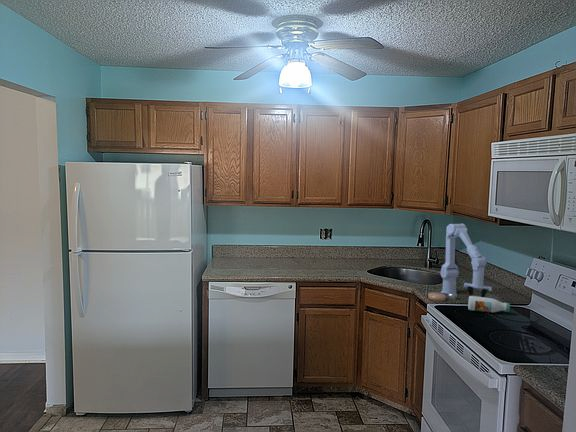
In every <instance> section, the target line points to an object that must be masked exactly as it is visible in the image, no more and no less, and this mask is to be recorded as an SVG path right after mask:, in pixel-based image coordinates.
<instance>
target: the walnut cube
mask: <svg viewBox="0 0 576 432" xmlns="http://www.w3.org/2000/svg"><path fill="white" fill-rule="evenodd" d="M472 296H476V297H482V293H481V294H480V293H474V292H473V294H472Z"/></svg>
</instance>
